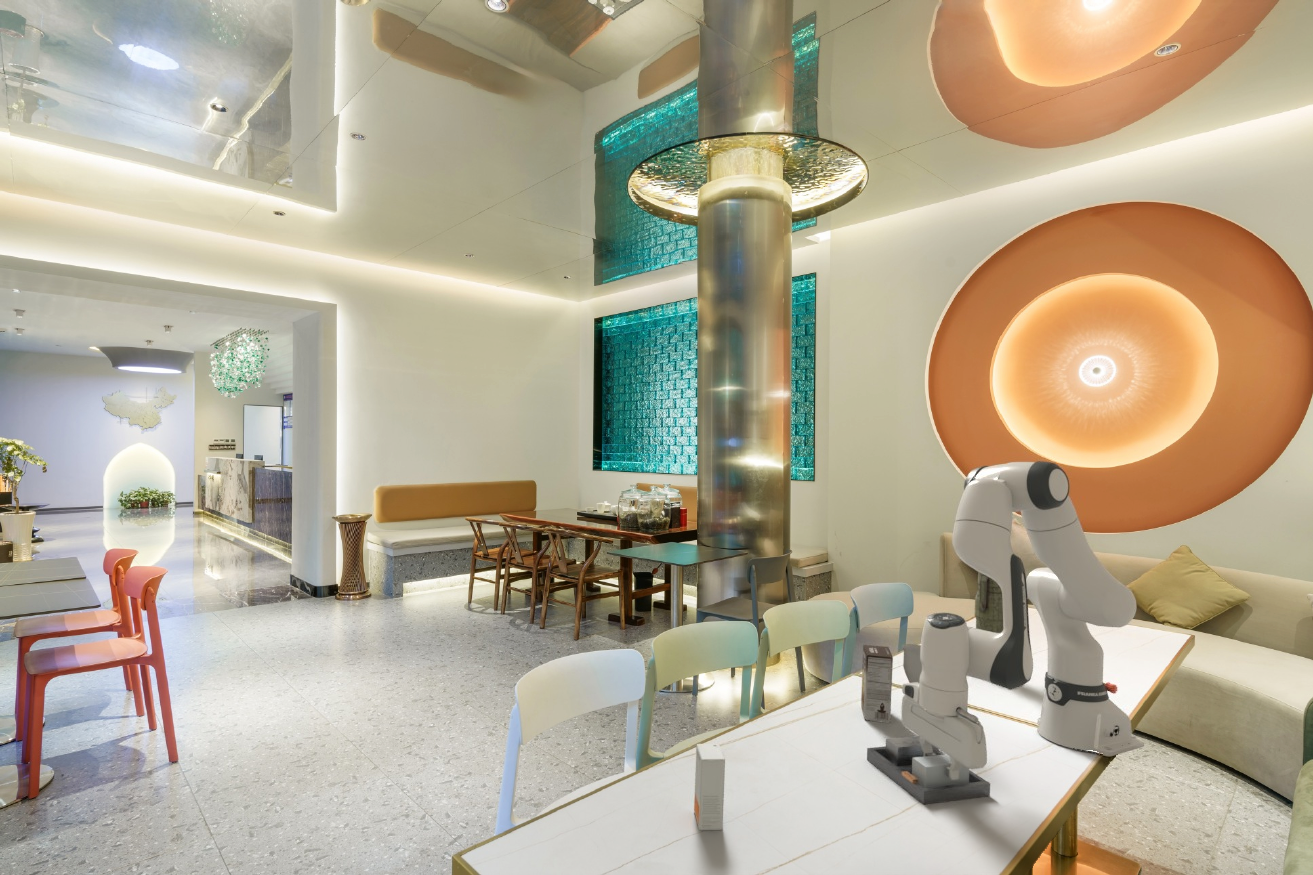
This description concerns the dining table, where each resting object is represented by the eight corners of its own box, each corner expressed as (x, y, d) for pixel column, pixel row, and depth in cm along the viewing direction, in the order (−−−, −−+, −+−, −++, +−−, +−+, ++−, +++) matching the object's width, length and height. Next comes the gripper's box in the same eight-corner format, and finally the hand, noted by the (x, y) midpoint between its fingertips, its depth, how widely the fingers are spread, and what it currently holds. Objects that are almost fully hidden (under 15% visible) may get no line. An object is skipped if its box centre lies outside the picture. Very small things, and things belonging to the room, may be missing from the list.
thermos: (1011, 675, 199) (1014, 559, 200) (998, 684, 191) (1002, 563, 192) (980, 668, 206) (983, 555, 206) (966, 676, 197) (970, 559, 198)
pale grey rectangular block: (954, 775, 132) (954, 753, 132) (968, 785, 128) (969, 762, 128) (911, 780, 130) (912, 757, 130) (925, 790, 126) (926, 767, 126)
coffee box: (860, 706, 169) (862, 643, 170) (886, 709, 168) (888, 646, 168) (863, 720, 160) (866, 654, 161) (891, 723, 159) (894, 656, 159)
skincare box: (693, 811, 117) (696, 742, 117) (716, 811, 117) (719, 743, 117) (698, 831, 110) (701, 759, 111) (723, 830, 111) (726, 759, 111)
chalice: (930, 719, 162) (932, 646, 163) (932, 730, 156) (934, 654, 156) (898, 714, 165) (901, 642, 165) (899, 725, 158) (901, 649, 159)
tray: (926, 753, 144) (927, 728, 144) (989, 795, 126) (990, 768, 127) (866, 759, 140) (867, 734, 140) (923, 804, 122) (924, 775, 122)
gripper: (997, 718, 120) (994, 795, 120) (922, 680, 140) (920, 745, 140) (968, 721, 118) (965, 799, 118) (896, 681, 138) (894, 748, 138)
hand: (940, 769), depth 129 cm, fingers open, 5 cm apart
